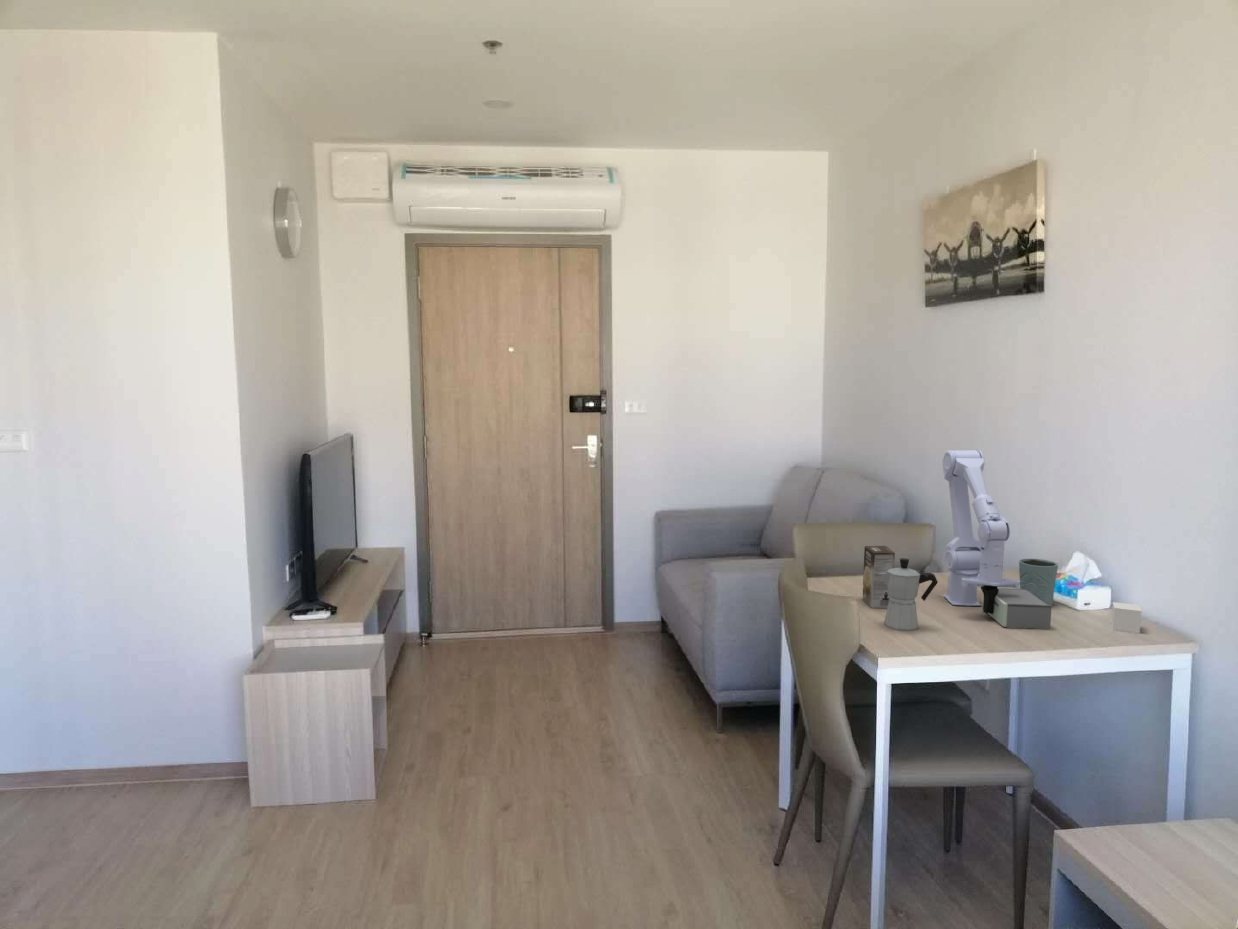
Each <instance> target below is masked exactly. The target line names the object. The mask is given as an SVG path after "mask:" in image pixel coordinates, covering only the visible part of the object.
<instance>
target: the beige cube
mask: <svg viewBox="0 0 1238 929" xmlns="http://www.w3.org/2000/svg"><path fill="white" fill-rule="evenodd" d="M1141 622H1142V609H1141V607H1140V604H1135V603H1133V604H1132V603H1124V602H1123V603H1122V602H1114V601H1112V606H1111V617H1110V625H1111V628H1112V630H1113V631H1119V632H1125V633H1134V634H1140V633H1141V625H1142V624H1141Z"/></svg>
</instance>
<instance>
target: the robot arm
mask: <svg viewBox="0 0 1238 929" xmlns="http://www.w3.org/2000/svg"><path fill="white" fill-rule="evenodd" d="M984 468H985V456H984V453H983V452H982V451H981V450H980V449H976V450H975V449H973V450H971V449H969V450H967V449H965V450H952V449H948V450H946V451H945V453H944V455H943V457H942V470H943V477H944V478H943V479H944V480H945V481H947V482H948V487H949V488H948V489H949V499H950V507H951V517H952V518H951V519H952V528H953V537H954V538H953V539H952V540H951V541H950V542H949V543H947V544H946V545H945V554H944V564H945V567H946V568H947V570H948V571H950V572H948V575H947V586H946V594H943V597H944V598H945V599H946V600H947V601H948V602H949V603H950V604H951V605H952V606H967V607H968V606H969V607H971V606H972V607H973V606H974V607H978V606H979V607H981V606H982V608H983V609H982V612H983V613H984V614H985V615H989V614H988V612H989V613H990V614H993V609H994V598H995V597H996V595H997V594H998V592H999V590H998V589H997V588H1008V589H1020V580H1018V579H1012V578H1010V579H1009V578H1003V571H1004V569H1003V568H1004V557H1005V556H1004V555H1005V542H1007V541H1008V540H1009V538H1010V536H1011V534H1010V533H1011V528H1010V525H1009V522H1008V521H1007V520H1006V519H1005V518H1004V516H1001V514H1000V512H999V509H998V506H997V504H996V503H997V502H996V501H995V498H994V497H993V496H990V495H989V493H988V490H987V486H986V482H985V479H984V475H983V474H984V473H983V471H984ZM969 490H970V491H971V494H972V496H973V498H974V500H973V501H972V504H971V505H972V508H973V510H974V514H975V516H976V519H977V522H978V527H977V529H976V530H977V536H978V540H977V539H975V538H974V532H973V524H972V516H971V505H970V497H969ZM978 587H979V588H980V589H981V592H982V594H984V603H983V602H982V604H981V603H980V602H979V601H978V600H977V595H978Z"/></svg>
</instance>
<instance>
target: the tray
mask: <svg viewBox="0 0 1238 929" xmlns="http://www.w3.org/2000/svg"><path fill="white" fill-rule="evenodd" d="M982 594H983V593H982ZM983 603H984V594H983V595H982V604H983ZM1007 607H1008V604H1007V603H1005V602H1004V601H1003V600H1001V599H1000V598H999V597H998V596H996V597H995V598H994V609H993V614H990V613H989V612H988V614H987V615H989V616H990V617H992V619H994V620H995V621H996V622H997V623H998V624H999V625H1000V626H1002V627H1005V628H1006V623H1007ZM982 610H983V607H982Z"/></svg>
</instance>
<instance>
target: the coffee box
mask: <svg viewBox="0 0 1238 929" xmlns="http://www.w3.org/2000/svg"><path fill="white" fill-rule="evenodd" d="M863 551H864V552H863V554H864V555H863V578H862V579H863V580H862V600H863V602H865V603H866V604H867V605H868V606H869V607H870V608H871V609H887V608H888V603H889V599H890V596H889V595H888V588H887V586H886V584H885V582H884V580H883V578H882V576H881V575H880V574H879V573H882V572H886V571H888V570H889V569H892V568H895V562H896V552H895V551H893V550H892V549H890V548H889V547H888V546H886V545H865V546H864V550H863Z"/></svg>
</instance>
